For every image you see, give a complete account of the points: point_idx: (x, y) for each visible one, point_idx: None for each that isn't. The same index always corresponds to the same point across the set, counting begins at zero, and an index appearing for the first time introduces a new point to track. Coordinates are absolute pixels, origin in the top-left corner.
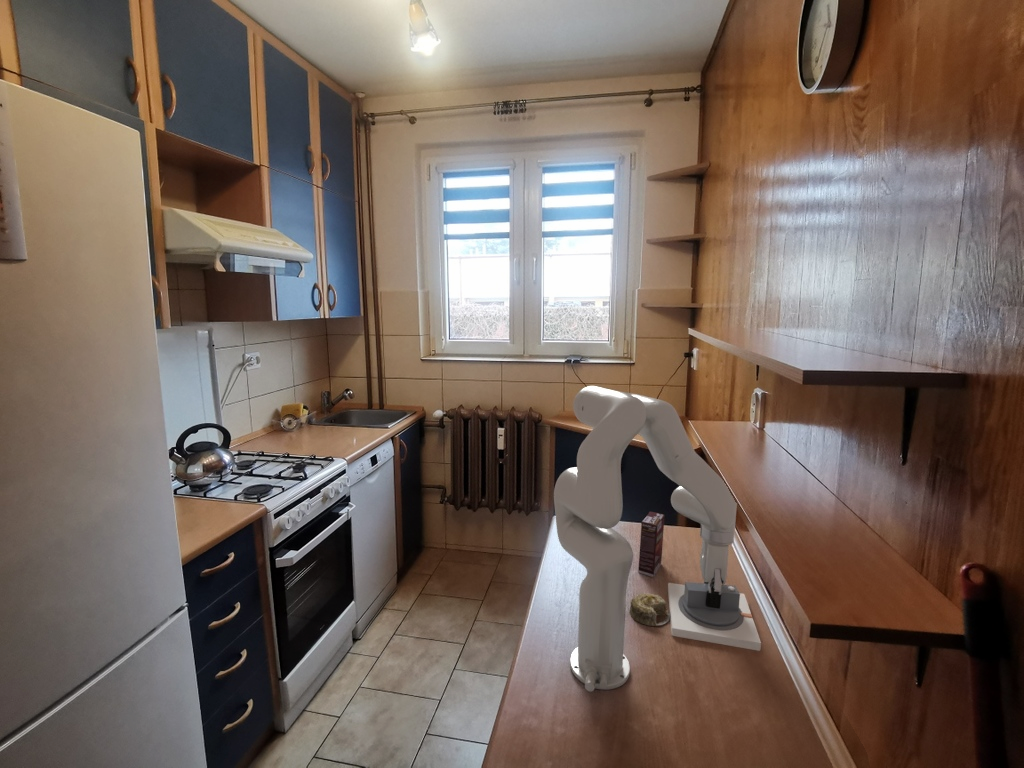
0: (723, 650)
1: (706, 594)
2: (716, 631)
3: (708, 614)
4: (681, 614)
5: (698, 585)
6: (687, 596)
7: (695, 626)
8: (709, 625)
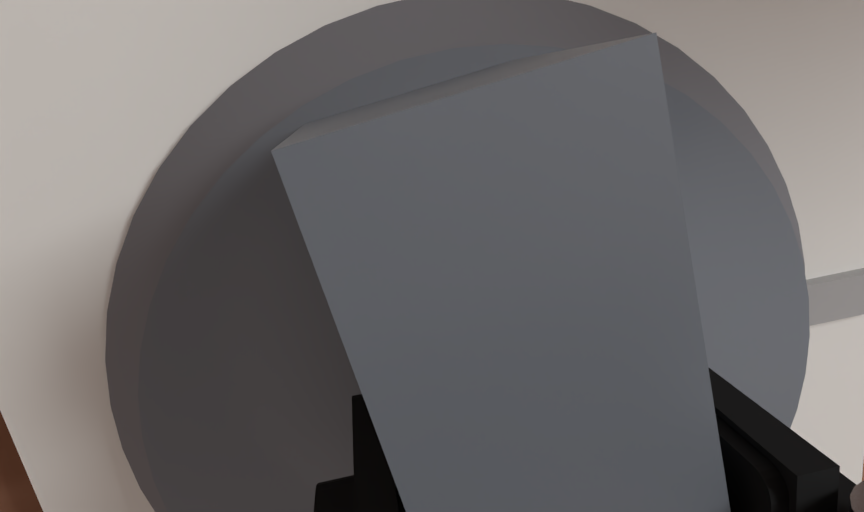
0: (5, 483)
1: (392, 501)
2: (106, 463)
3: (267, 403)
4: (221, 55)
5: (601, 360)
6: (319, 126)
7: (53, 250)
8: None
